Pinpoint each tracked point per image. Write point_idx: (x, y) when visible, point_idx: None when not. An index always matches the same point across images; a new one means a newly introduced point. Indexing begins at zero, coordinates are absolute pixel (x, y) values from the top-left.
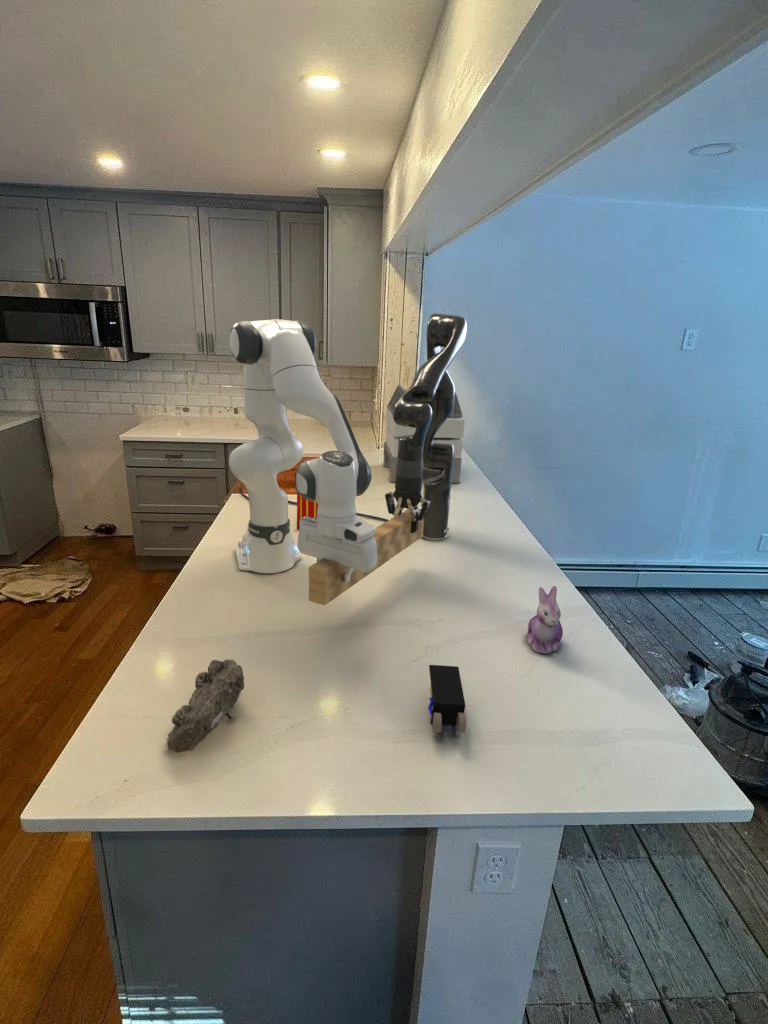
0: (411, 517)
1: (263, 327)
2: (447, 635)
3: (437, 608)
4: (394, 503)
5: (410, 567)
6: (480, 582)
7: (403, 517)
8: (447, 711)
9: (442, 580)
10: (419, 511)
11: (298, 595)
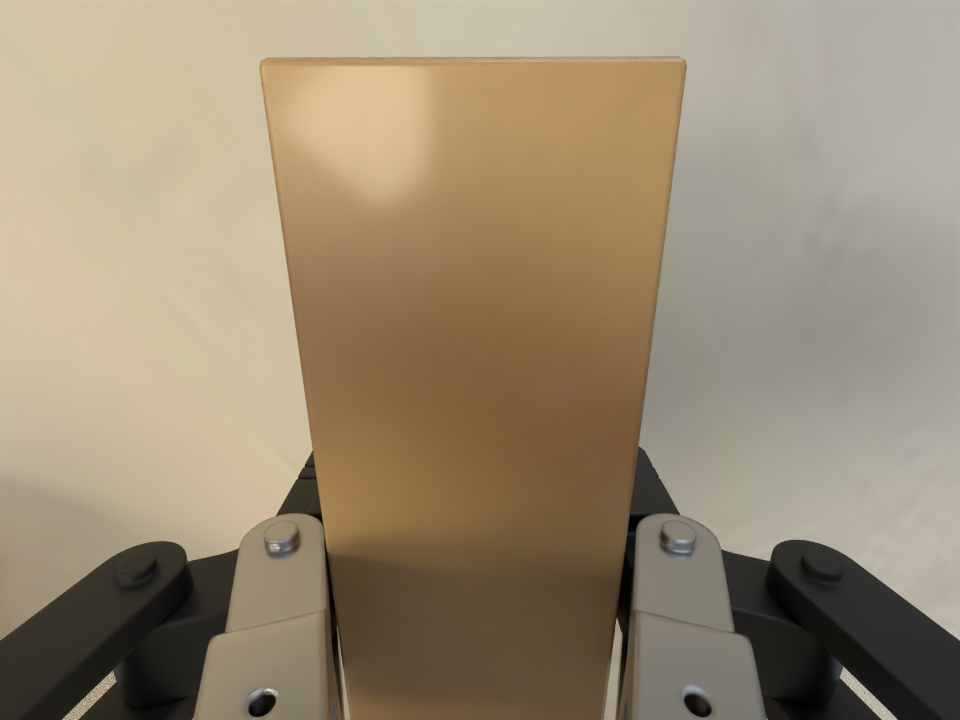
0: (603, 654)
1: None
2: None
3: (759, 486)
4: (31, 712)
5: None
6: (954, 78)
7: (488, 712)
8: None
9: (708, 203)
10: (613, 289)
11: None
